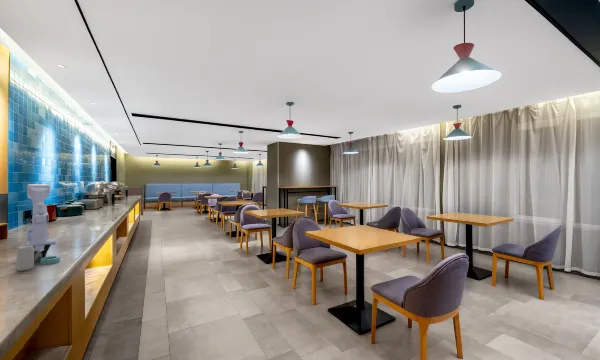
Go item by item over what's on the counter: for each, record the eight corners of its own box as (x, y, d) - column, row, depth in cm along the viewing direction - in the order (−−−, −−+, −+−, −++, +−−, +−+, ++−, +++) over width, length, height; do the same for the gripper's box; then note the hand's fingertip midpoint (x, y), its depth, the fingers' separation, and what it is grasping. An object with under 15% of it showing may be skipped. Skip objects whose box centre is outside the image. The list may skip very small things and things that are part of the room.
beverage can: (22, 272, 135) (23, 248, 135) (12, 270, 136) (13, 247, 136) (36, 268, 141) (37, 245, 141) (27, 266, 142) (28, 244, 142)
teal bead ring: (41, 261, 152) (42, 257, 152) (60, 259, 156) (60, 255, 156) (39, 265, 145) (39, 260, 145) (58, 262, 150) (59, 258, 150)
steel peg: (34, 260, 152) (34, 250, 152) (44, 259, 154) (44, 249, 154) (33, 262, 149) (33, 252, 149) (42, 261, 151) (43, 251, 151)
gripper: (20, 237, 144) (18, 262, 144) (55, 235, 153) (54, 258, 153) (23, 235, 150) (22, 258, 150) (57, 232, 158) (56, 255, 158)
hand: (38, 258), depth 152 cm, fingers open, 4 cm apart
